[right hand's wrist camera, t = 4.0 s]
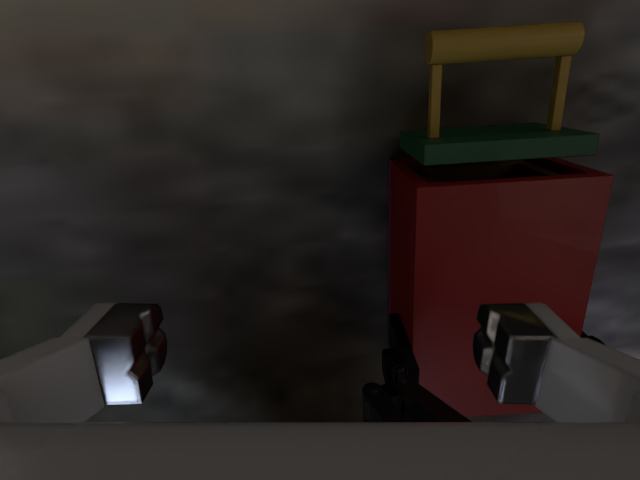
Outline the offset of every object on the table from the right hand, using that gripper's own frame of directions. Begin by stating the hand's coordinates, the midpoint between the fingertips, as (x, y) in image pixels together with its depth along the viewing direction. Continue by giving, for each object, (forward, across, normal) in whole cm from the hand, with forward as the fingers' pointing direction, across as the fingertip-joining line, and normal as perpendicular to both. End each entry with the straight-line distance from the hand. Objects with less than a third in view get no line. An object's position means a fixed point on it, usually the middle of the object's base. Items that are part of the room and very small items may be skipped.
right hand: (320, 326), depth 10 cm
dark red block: (+22, +11, -8) cm, 26 cm away
